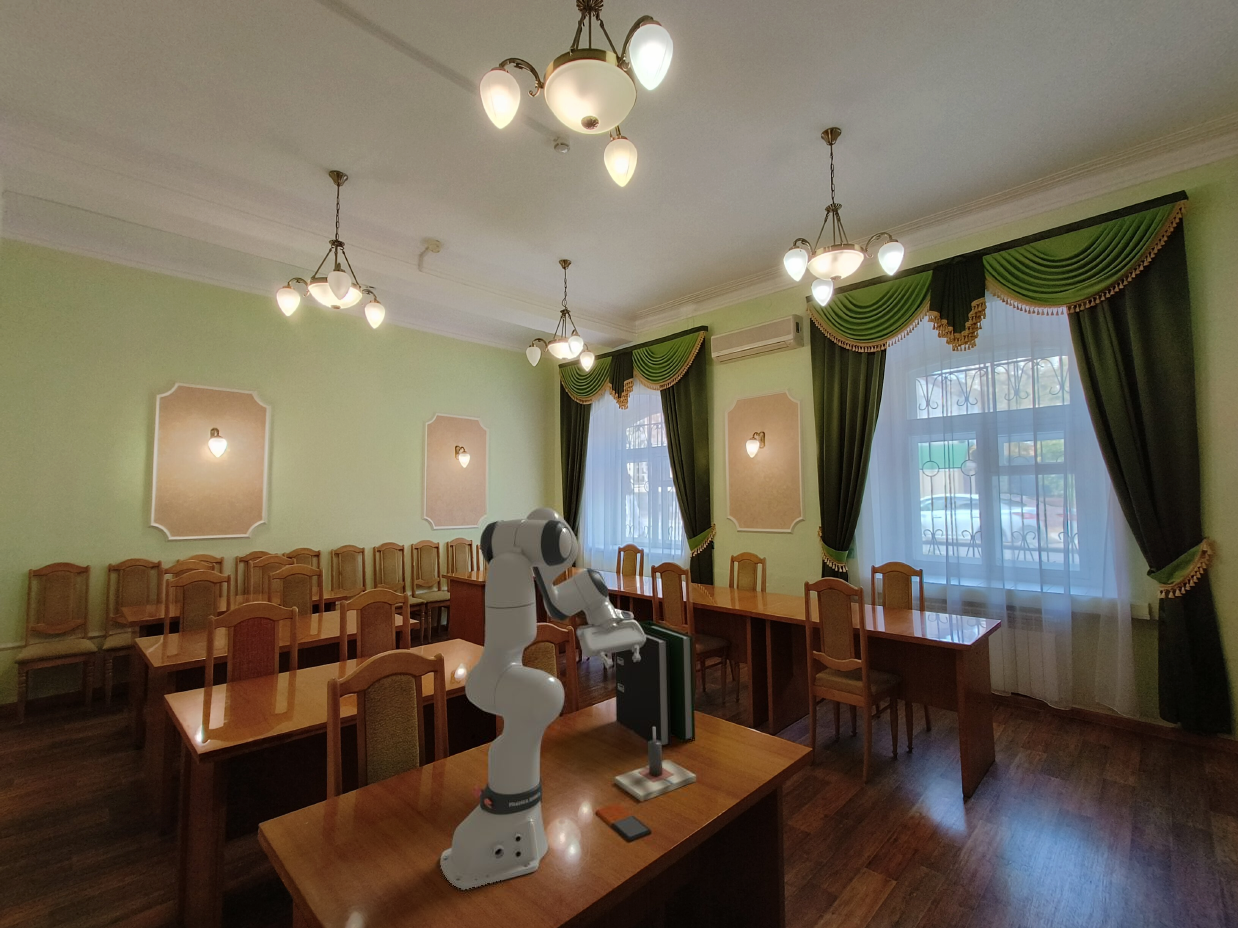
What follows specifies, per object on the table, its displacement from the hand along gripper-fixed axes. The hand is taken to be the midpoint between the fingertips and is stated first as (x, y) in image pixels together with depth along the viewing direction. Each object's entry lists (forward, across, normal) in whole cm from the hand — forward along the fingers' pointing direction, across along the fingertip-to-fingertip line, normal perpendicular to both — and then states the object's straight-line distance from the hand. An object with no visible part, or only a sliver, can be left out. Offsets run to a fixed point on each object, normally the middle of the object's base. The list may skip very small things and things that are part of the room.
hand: (624, 663), depth 163 cm
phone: (+36, -15, +7) cm, 39 cm away
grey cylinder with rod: (+26, +4, +14) cm, 29 cm away
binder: (+8, +24, +34) cm, 42 cm away
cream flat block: (+27, +3, +14) cm, 31 cm away
